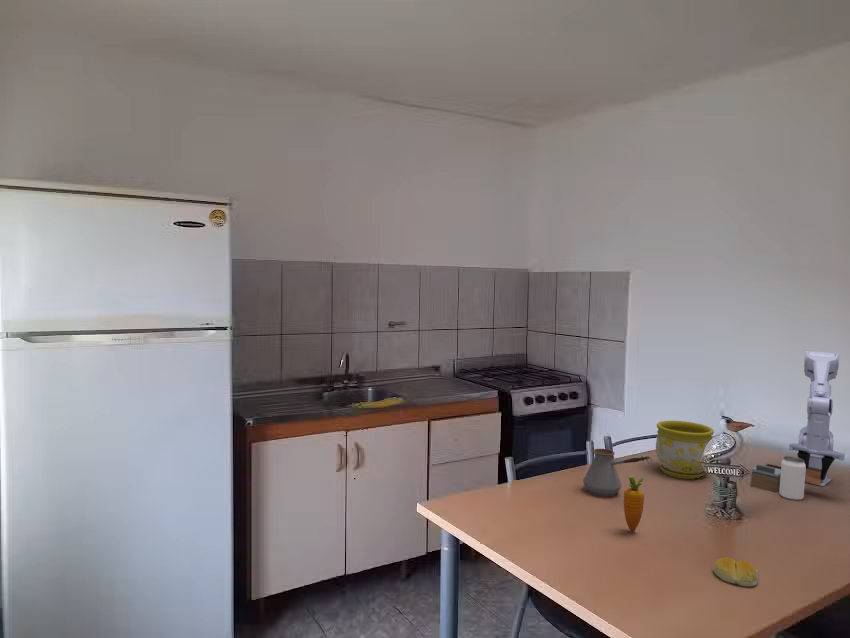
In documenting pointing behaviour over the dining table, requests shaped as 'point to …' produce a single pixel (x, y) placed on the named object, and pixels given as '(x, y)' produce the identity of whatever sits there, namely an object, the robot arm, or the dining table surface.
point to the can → (792, 478)
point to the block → (813, 476)
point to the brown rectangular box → (766, 480)
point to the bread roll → (736, 572)
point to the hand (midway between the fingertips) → (814, 477)
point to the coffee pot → (605, 473)
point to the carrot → (633, 504)
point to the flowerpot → (682, 447)
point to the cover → (767, 470)
